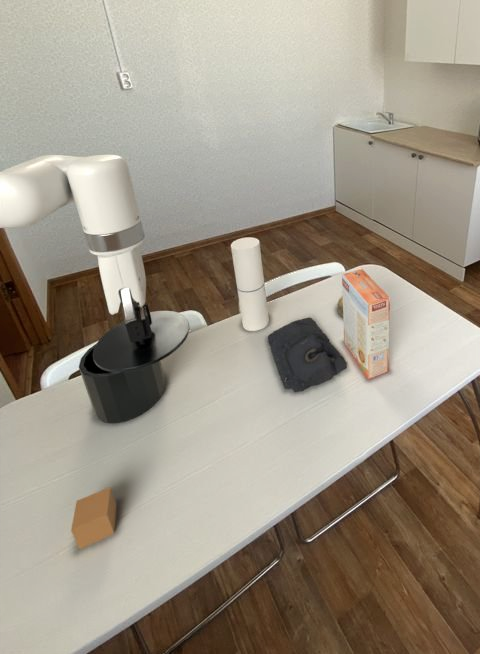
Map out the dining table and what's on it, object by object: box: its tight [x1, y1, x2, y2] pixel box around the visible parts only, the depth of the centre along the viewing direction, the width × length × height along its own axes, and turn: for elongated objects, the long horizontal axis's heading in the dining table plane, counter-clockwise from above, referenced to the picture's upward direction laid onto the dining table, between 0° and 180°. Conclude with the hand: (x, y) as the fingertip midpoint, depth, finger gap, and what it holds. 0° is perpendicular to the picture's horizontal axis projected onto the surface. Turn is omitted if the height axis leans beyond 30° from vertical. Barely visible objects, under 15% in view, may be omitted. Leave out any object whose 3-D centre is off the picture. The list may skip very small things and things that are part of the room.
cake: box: [336, 295, 343, 318], centre depth 112 cm, size 10×10×5 cm
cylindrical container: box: [230, 236, 270, 332], centre depth 103 cm, size 7×7×25 cm
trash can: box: [78, 342, 166, 424], centre depth 82 cm, size 14×14×12 cm
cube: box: [70, 486, 118, 550], centre depth 60 cm, size 5×5×5 cm
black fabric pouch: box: [267, 316, 347, 393], centre depth 95 cm, size 15×22×5 cm
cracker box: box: [341, 268, 391, 380], centre depth 91 cm, size 14×6×21 cm, turn 25°
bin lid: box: [93, 306, 191, 372], centre depth 65 cm, size 15×15×7 cm
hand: (141, 331), depth 65 cm, fingers closed on bin lid, 2 cm apart
